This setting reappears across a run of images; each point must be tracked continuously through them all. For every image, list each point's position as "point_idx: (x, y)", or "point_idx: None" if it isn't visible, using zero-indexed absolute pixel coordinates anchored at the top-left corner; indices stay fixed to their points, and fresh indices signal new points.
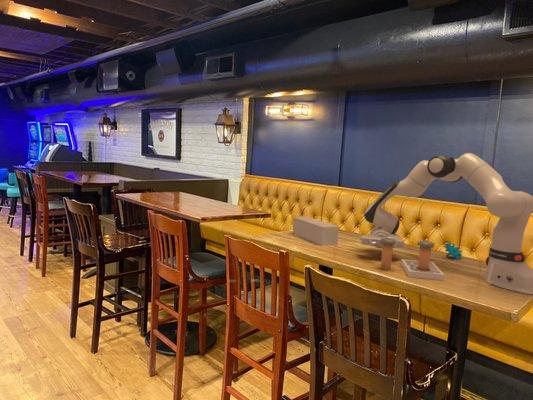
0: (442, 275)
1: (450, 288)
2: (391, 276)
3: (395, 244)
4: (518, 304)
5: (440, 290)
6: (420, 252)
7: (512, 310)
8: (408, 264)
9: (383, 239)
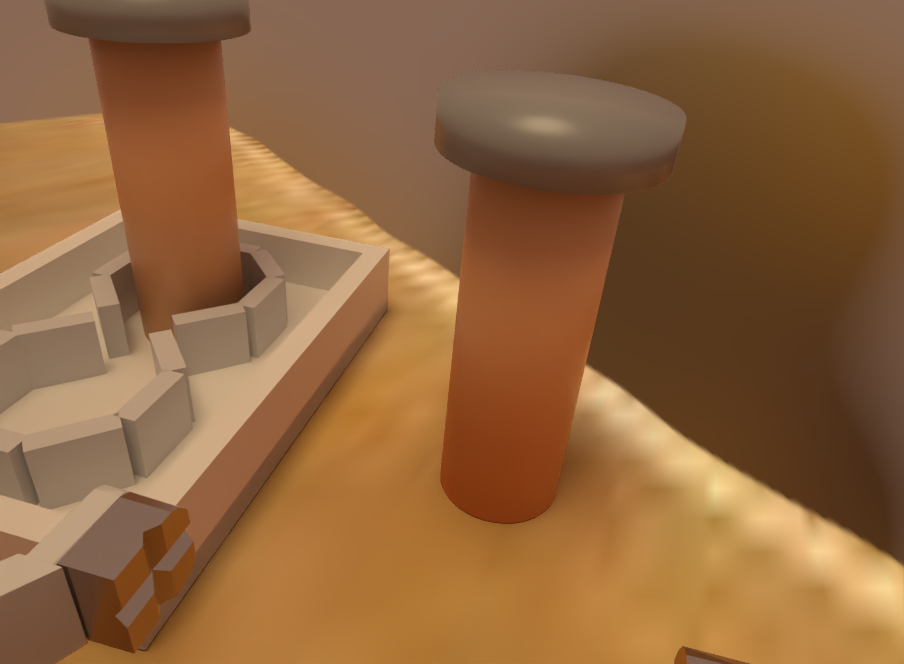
0: None
1: None
2: None
3: (108, 485)
4: (57, 122)
5: (299, 204)
6: (226, 111)
7: None
8: None
9: (640, 109)
